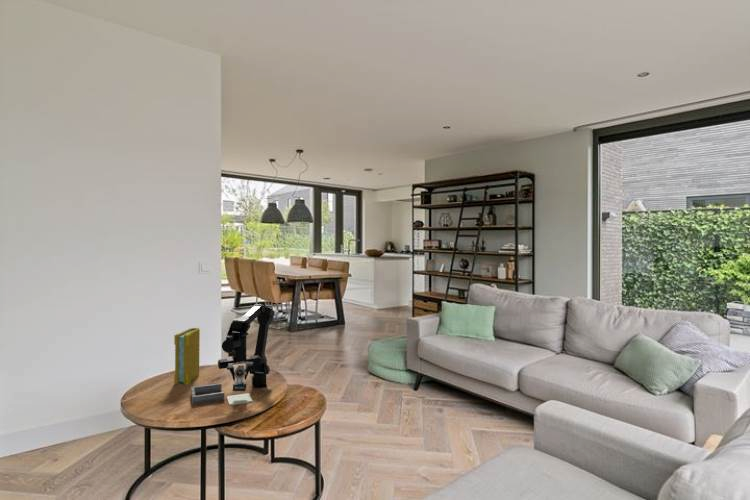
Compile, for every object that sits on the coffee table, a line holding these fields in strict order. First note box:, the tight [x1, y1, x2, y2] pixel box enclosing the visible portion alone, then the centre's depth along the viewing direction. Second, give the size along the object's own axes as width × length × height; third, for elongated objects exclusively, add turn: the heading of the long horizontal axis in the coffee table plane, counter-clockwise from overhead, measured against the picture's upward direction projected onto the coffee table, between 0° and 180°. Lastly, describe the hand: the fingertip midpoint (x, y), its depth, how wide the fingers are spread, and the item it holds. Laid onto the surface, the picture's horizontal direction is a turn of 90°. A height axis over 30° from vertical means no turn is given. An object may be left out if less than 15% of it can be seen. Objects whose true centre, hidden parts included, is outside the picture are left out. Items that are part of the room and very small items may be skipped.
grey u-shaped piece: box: [190, 382, 225, 406], centre depth 191 cm, size 13×13×4 cm
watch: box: [232, 364, 248, 392], centre depth 188 cm, size 6×8×11 cm
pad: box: [226, 392, 253, 406], centre depth 188 cm, size 10×10×1 cm
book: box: [173, 327, 201, 385], centre depth 215 cm, size 17×7×25 cm, turn 179°
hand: (239, 380), depth 188 cm, fingers closed on watch, 5 cm apart
